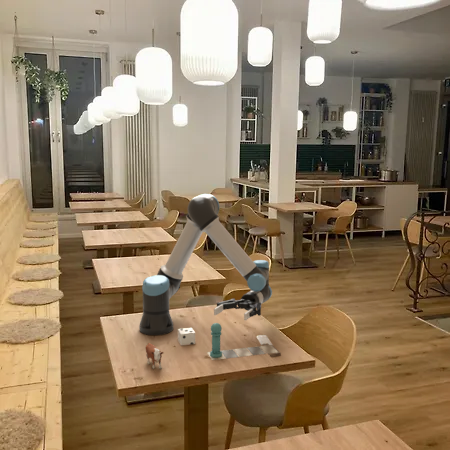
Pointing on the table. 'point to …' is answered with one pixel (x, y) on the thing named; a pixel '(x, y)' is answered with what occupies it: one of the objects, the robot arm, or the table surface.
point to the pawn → (216, 340)
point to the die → (186, 336)
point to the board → (244, 352)
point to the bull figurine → (153, 355)
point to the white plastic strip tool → (263, 340)
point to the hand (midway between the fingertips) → (229, 314)
